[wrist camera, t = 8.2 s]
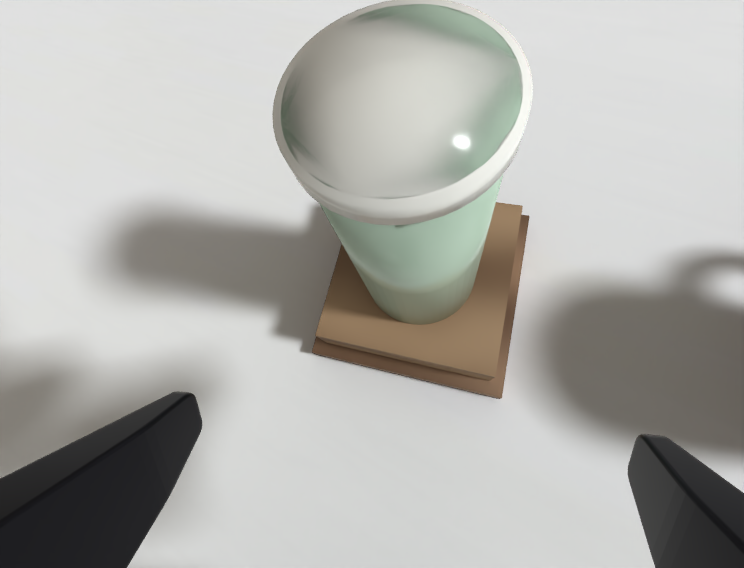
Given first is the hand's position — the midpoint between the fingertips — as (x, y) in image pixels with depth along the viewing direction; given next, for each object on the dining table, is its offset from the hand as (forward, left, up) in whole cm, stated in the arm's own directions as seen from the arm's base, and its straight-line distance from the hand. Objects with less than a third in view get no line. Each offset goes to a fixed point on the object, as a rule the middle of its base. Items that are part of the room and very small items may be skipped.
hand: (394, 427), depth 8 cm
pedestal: (+7, +1, -14) cm, 16 cm away
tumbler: (+7, +1, -11) cm, 13 cm away
